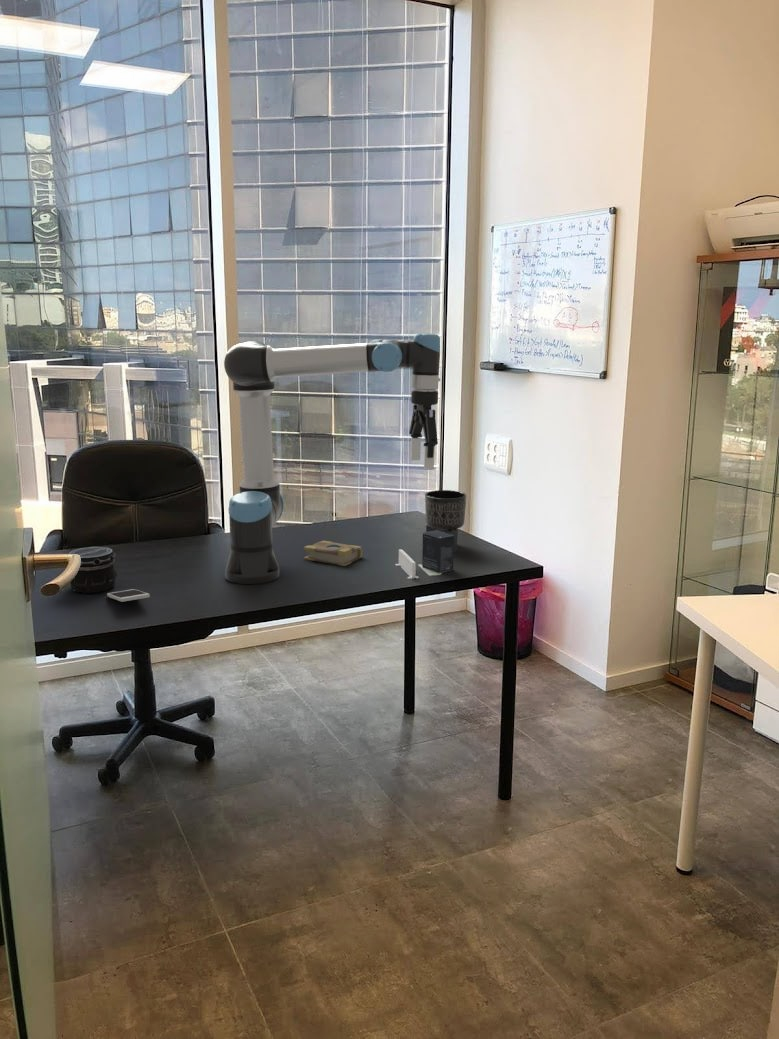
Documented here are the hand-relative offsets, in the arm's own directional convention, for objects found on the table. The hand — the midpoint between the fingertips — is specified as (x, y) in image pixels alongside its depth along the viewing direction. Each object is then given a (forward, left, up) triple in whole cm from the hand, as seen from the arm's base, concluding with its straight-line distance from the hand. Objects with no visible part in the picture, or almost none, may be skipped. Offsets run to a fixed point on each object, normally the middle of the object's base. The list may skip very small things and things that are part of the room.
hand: (421, 464), depth 247 cm
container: (-92, +3, -31) cm, 97 cm away
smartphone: (-80, -19, -29) cm, 88 cm away
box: (+4, -4, -30) cm, 31 cm away
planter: (+13, +16, -31) cm, 37 cm away
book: (-23, +14, -31) cm, 41 cm away
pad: (+4, -5, -31) cm, 31 cm away
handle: (-5, -5, -31) cm, 31 cm away
